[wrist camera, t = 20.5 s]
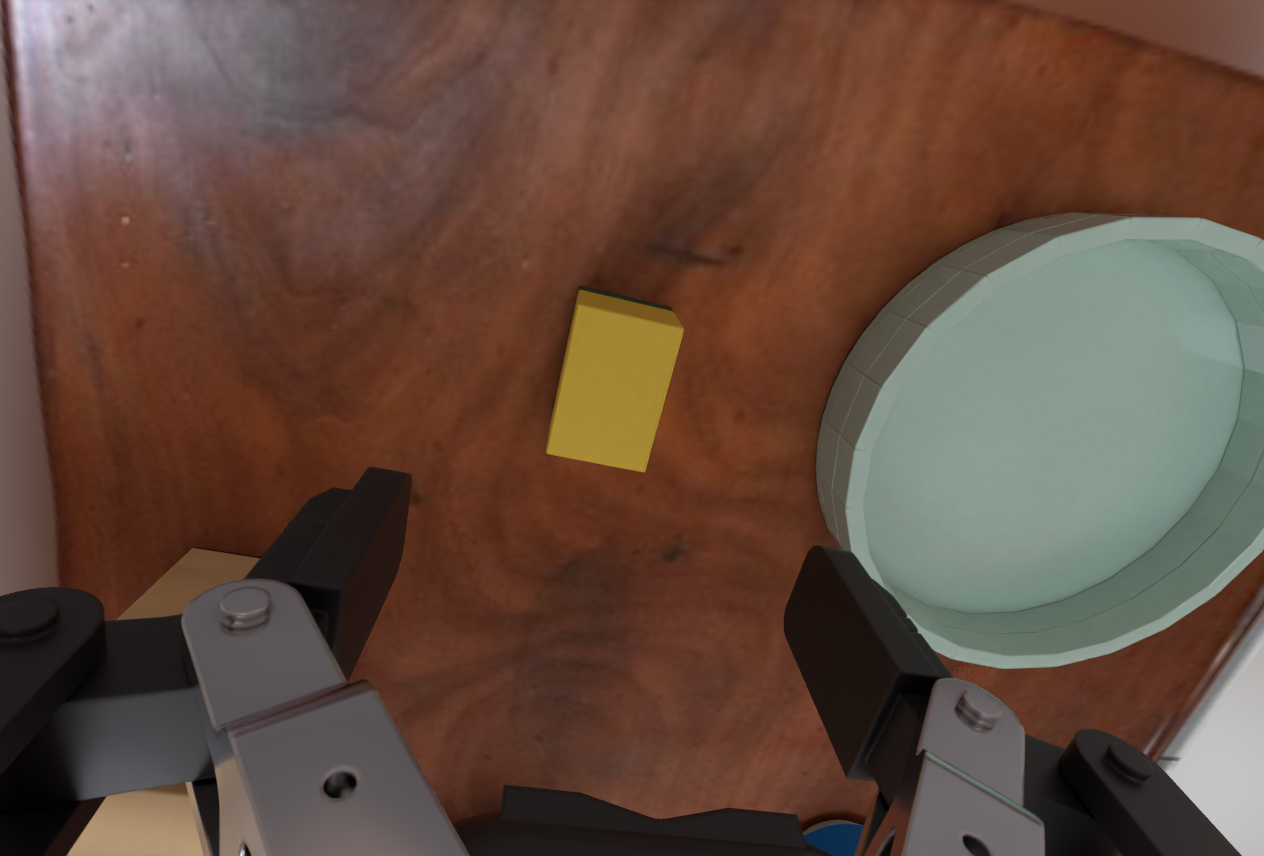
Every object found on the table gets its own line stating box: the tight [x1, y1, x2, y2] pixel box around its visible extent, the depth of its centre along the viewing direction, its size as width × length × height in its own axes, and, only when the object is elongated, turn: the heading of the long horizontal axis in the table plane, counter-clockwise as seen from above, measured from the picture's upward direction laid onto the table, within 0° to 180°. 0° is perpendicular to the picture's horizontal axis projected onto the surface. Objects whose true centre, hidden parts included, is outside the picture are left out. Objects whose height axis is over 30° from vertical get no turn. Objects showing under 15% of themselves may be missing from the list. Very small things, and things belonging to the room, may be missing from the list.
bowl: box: [816, 212, 1264, 669], centre depth 28 cm, size 21×21×4 cm
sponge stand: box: [67, 548, 260, 856], centre depth 26 cm, size 9×7×12 cm
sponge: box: [546, 286, 684, 472], centre depth 26 cm, size 6×4×4 cm, turn 166°
